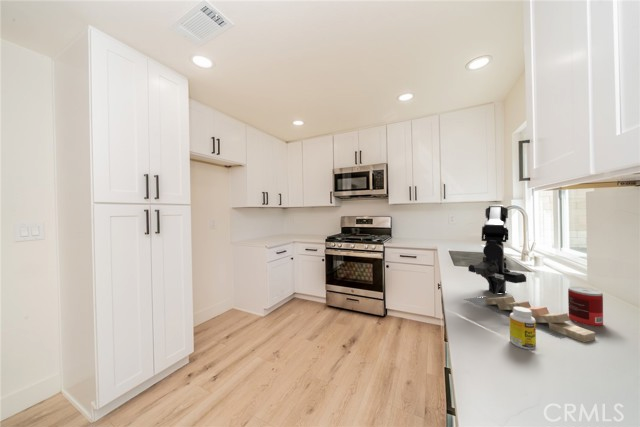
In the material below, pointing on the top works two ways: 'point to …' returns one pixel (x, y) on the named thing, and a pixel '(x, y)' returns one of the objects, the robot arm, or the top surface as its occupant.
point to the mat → (494, 307)
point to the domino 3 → (538, 311)
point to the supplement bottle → (522, 328)
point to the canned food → (585, 306)
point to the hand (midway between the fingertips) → (495, 294)
